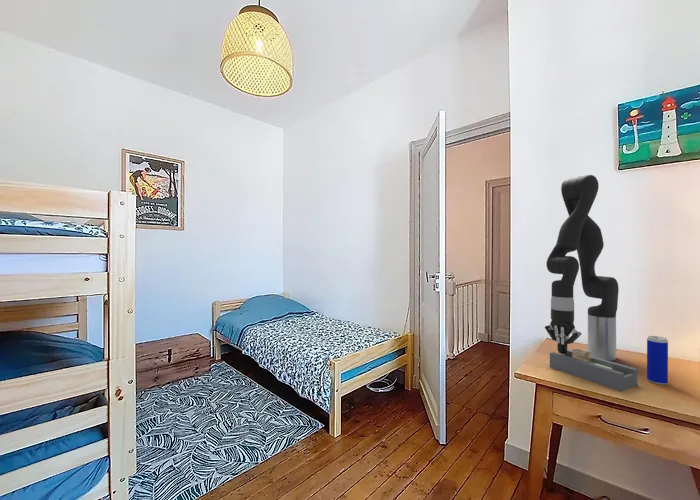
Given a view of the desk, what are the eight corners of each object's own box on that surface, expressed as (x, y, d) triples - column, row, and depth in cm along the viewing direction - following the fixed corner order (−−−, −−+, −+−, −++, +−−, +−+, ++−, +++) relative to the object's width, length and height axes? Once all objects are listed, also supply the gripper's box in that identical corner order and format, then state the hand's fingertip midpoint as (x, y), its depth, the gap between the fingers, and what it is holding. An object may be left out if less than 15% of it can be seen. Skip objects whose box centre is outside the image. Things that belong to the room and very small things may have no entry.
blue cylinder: (671, 385, 107) (672, 340, 107) (653, 384, 108) (653, 339, 108) (660, 379, 112) (660, 335, 112) (643, 378, 114) (643, 335, 113)
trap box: (566, 362, 129) (566, 348, 129) (637, 385, 108) (637, 368, 108) (549, 367, 125) (549, 352, 125) (620, 391, 104) (620, 374, 104)
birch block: (579, 359, 122) (579, 348, 122) (590, 362, 118) (590, 351, 118) (572, 360, 120) (572, 349, 120) (584, 364, 116) (584, 353, 116)
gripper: (586, 310, 120) (586, 357, 121) (551, 304, 132) (551, 347, 133) (574, 312, 117) (574, 360, 118) (539, 306, 129) (539, 349, 130)
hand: (562, 353), depth 125 cm, fingers closed
